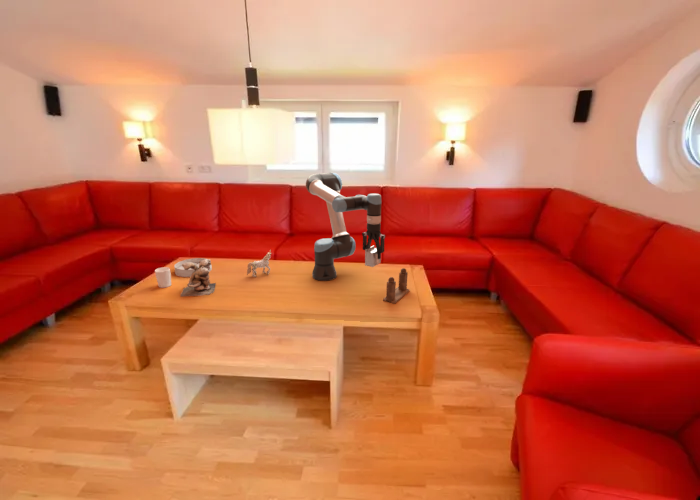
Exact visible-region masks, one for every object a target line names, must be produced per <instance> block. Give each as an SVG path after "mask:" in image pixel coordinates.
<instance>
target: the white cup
mask: <svg viewBox="0 0 700 500" xmlns="http://www.w3.org/2000/svg"><path fill="white" fill-rule="evenodd" d="M154 273H155V274H154V275H155V278H156V283H157V286H158V288H160V289H161V288H163V289H164V288H168V287H170V286H172V274H171V268H170V267H167V266H164V267H163V266H162V267H158V268H156V269H155V270H154Z"/></svg>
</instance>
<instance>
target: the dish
mask: <svg viewBox="0 0 700 500" xmlns="http://www.w3.org/2000/svg"><path fill="white" fill-rule="evenodd" d="M205 259H206V258H205V257H195V258H186V259H183V260H180V261H178V262H176V263H175V264H174V274H175V276H178V277H183V278H191V275H192V273H193V272H194V271H195V270H194V269H191V268H190V269H188V270H185V269H184V267H182V264H184V263H187V262H192V263H195V264H196V265H197V266H198V268H199V264H200V262H201V261H202V260H205ZM211 261H212V260H211ZM211 261H210V263H211ZM209 267H210V269H209V272H211V271H212V270H213V268H212V263H211V265H210V266H209Z"/></svg>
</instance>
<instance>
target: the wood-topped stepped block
mask: <svg viewBox="0 0 700 500" xmlns="http://www.w3.org/2000/svg"><path fill="white" fill-rule="evenodd" d="M376 253H377V249H376V247H375V245H372V246H371V245H370V247H369V248H367V249H365V250H364V266H366V267H371V268H374V267H376V266H377V265H376ZM381 261H382V258H380V259H379V264H381V263H382V262H381Z"/></svg>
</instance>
